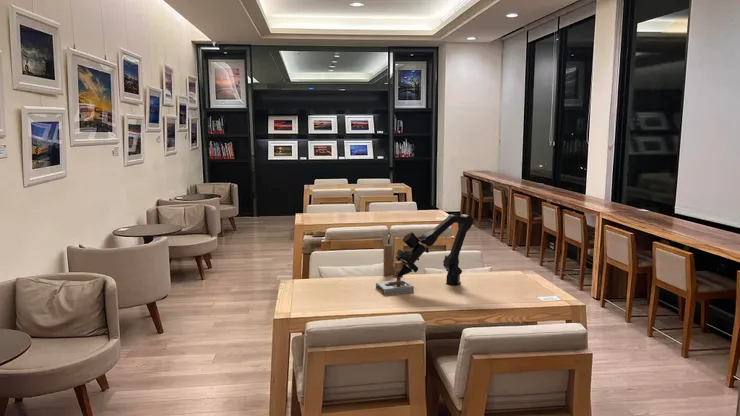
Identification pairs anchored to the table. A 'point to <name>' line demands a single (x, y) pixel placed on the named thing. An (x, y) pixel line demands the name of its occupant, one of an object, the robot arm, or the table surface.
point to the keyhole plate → (389, 288)
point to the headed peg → (397, 270)
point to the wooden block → (388, 261)
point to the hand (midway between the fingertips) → (396, 275)
